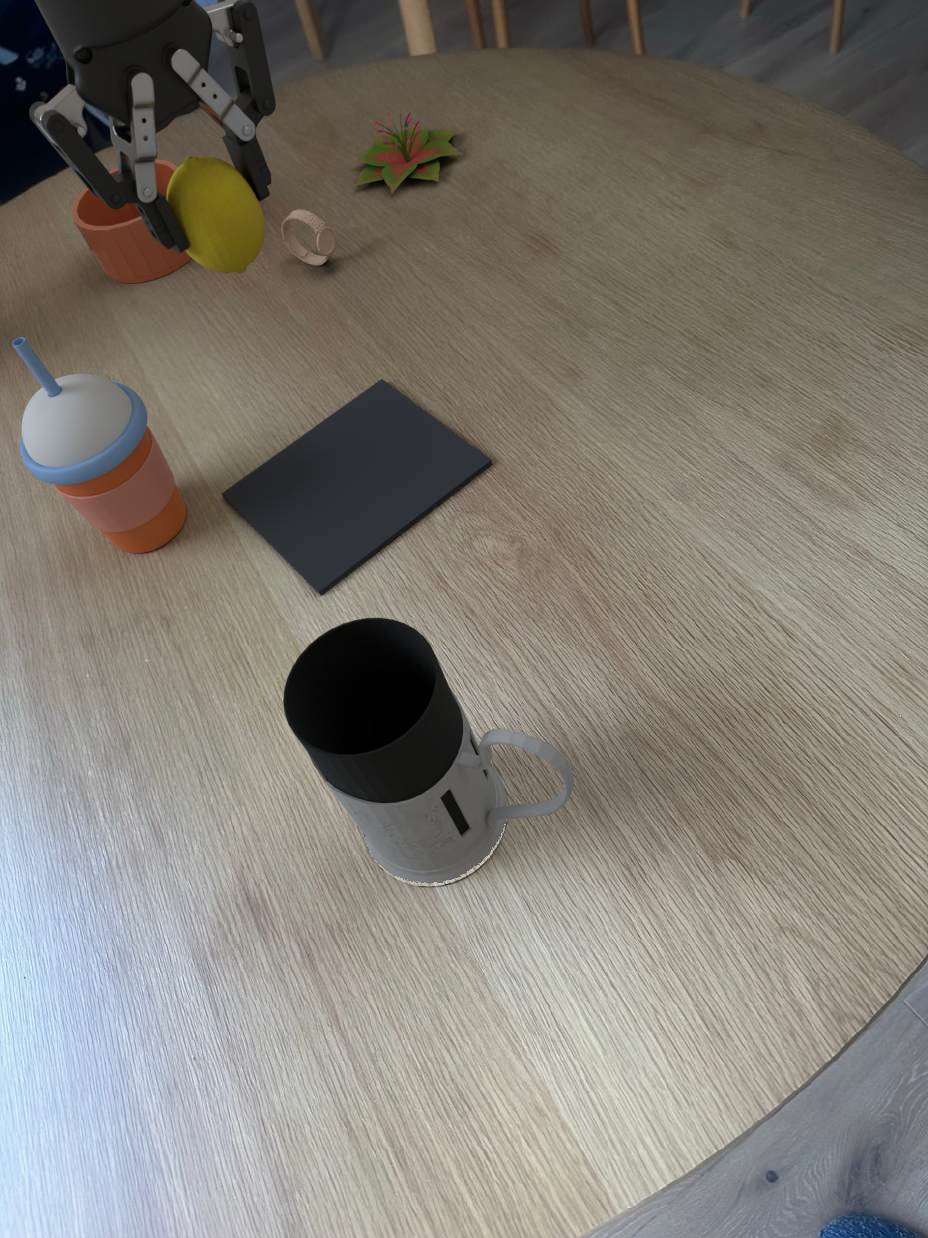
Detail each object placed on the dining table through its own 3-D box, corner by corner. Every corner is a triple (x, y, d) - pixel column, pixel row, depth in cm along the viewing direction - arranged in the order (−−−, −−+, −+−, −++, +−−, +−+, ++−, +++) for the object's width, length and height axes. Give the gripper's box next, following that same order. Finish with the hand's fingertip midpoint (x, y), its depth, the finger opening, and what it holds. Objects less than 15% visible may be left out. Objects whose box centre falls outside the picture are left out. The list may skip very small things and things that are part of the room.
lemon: (259, 301, 62) (206, 186, 56) (187, 296, 64) (128, 184, 58) (295, 246, 65) (249, 130, 59) (225, 243, 67) (173, 130, 60)
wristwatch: (328, 273, 91) (310, 225, 87) (288, 265, 93) (268, 218, 89) (344, 255, 92) (327, 207, 88) (304, 248, 94) (285, 200, 90)
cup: (132, 298, 95) (101, 244, 90) (85, 256, 101) (53, 204, 96) (227, 237, 98) (201, 181, 93) (175, 200, 104) (148, 146, 99)
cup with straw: (201, 557, 73) (74, 373, 59) (87, 580, 75) (-64, 405, 60) (209, 469, 79) (95, 281, 64) (103, 492, 80) (-33, 312, 65)
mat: (321, 596, 69) (318, 591, 68) (223, 497, 77) (221, 493, 76) (492, 464, 73) (491, 459, 72) (383, 382, 80) (381, 378, 80)
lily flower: (478, 124, 100) (469, 78, 96) (451, 195, 93) (440, 149, 90) (368, 133, 103) (355, 89, 100) (335, 202, 97) (320, 159, 93)
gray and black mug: (399, 731, 61) (321, 591, 49) (619, 793, 56) (592, 652, 44) (338, 860, 57) (237, 742, 45) (569, 940, 52) (524, 830, 40)
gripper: (163, -160, 52) (279, 145, 65) (-78, -33, 48) (97, 260, 62) (234, -141, 48) (342, 180, 61) (-25, -1, 44) (150, 306, 58)
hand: (218, 219), depth 61 cm, fingers closed on lemon, 5 cm apart
